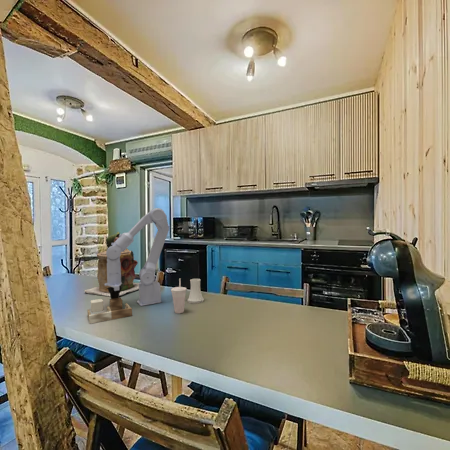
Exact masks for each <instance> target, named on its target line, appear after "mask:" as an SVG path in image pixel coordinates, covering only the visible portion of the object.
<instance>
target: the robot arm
mask: <svg viewBox="0 0 450 450" xmlns="http://www.w3.org/2000/svg"><path fill="white" fill-rule="evenodd" d="M168 222H169V221H168V219H167V214H166V213H165V211H164V210H163V209H162V208H159V207H156V208H153V209H151V210H149V212H147V213H146V214H144V215H143V216H142V217H141V218H140V219H139V220H138V221H137V222H136V223H135V225H134V226H132V228H131V229H130V230H128V232H123V233H120V235H119V238H118V239H117V240H116V241H115V242H114V243H112V244H111V245H112V246H110V247H109V248H108V247H107V248H108V249H107V248H106V250H107V251H106V250H105V251H106V255H107V283H105V284H104V285H105V286H110V287H108V288H107V289H108V291H109V293H110V296H111V297H110V296H109V297H110V299H114V298H120V296H119V294H120V291H121V289H122V288H121V286H120V285H121V284H122V282H121V262H120V255H121V252H123V251H124V250H125V249H126V248H127V249H128V248H129V246H131V245H132V243H133V242H134V237H135V236H137V234H139V232H140V231H141V230H143V228H145V227H146V225H150V224H154V225H155V228H156V229H157V232H156V234H155V236H154V240H153V241H152V246H151V247H150V251H149V254H148V257H147V259H146V261H145V263H144V265H143V267H142V268H141V269H140V270H139V274H138V276H139V279H140V281H139V282H138V283H139V289H138V300H136V302H137V303H138V304H139V306H142V307H143V306H148V305H153V304H160V303H162V293H161V291H162V288H161V283H160V282H158V281H155V280H156V276H155V275H156V269H157V264H158V261H159V259H160V256H161V253H162V250H163V248H164V244H165V242H166V240H167V236H168V233H169V230H170V227H169V223H168Z"/></svg>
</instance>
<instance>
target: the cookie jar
mask: <svg viewBox="0 0 450 450" xmlns="http://www.w3.org/2000/svg"><path fill="white" fill-rule="evenodd" d="M120 234H121V232H119V231H117V232H116V233H114V234H111V235H108V236H107V237H106V239H105V243H106V250H104V251H102V252H98V253H97V254H96V257H97V258H98V263H97V275H96V276H97V277H96V278H97V282H98V286H94V287H91V288H89V289H88V288H87V289H85V290H83V291H84V293H86V294H89V295H91V294H94V295H96V296H97V295H98V296H105V297H110V298H111V296H110V293H109V291H108V289H107V288H108V287H110V286H105V285H104V284H105V283H107V255H106V251H107V249H108V248H109V247H110V246H112V245H111V244H112V243H114V242H115V241H116V240H117V239H118V238H119V235H120ZM134 255H135V254H134V251H133V250H129V249H128V247H127V248H126V249H125V250H124V251H123V252H121V255H120V262H121V282H122V284H121V285H120V286H121V288H122V289H121V291H120V294H119V297H120V296H123V295H125V294H127V293H133V292H134V291H137V290H138V291H139V282H134V280H135V279H136V272H135V268H136V267H137V265H138V263H139V262H138V261H137V260H136V259H135V257H134Z"/></svg>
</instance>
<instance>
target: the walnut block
mask: <svg viewBox="0 0 450 450" xmlns="http://www.w3.org/2000/svg"><path fill="white" fill-rule="evenodd" d="M109 307H110V309H111V311H115V310H121V309H123V299H122V297H119V298H114V299H111V298H110V299H109Z"/></svg>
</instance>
